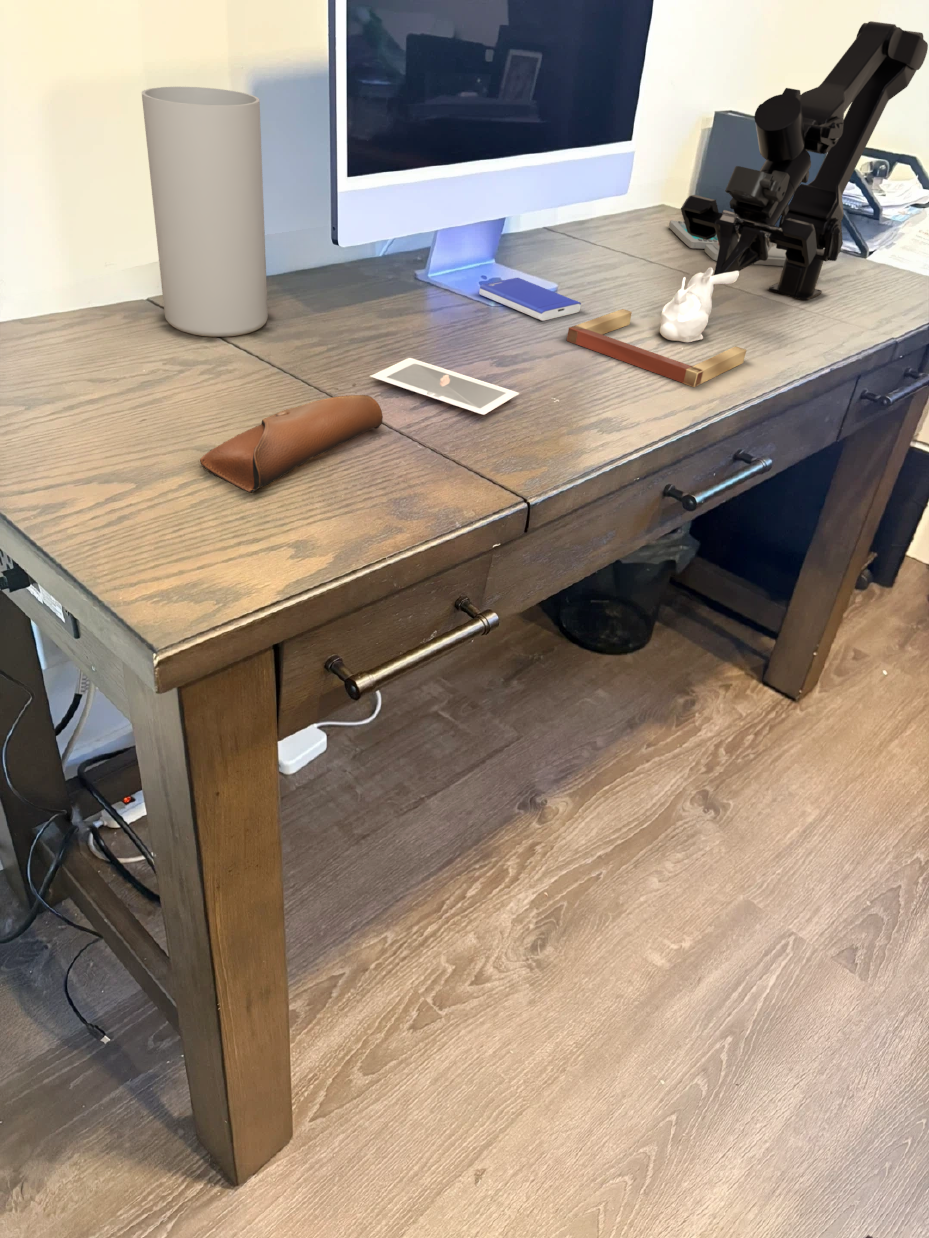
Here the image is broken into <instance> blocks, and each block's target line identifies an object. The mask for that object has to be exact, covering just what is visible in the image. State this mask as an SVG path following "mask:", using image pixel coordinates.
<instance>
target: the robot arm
mask: <svg viewBox="0 0 929 1238" xmlns="http://www.w3.org/2000/svg"><path fill="white" fill-rule="evenodd" d="M928 48H929V44H928V41H926V40H925V38H924V34H923V32H919V31H912V30H906V29H905V30H904V29H902V27H899V26H897V24H895V23H888V22H880V21H871V20H870V21H868V22H863V23H862V24H861V26H860V27H859V29H858V31H857V34H856V37H855V39H854V41H853V42H852V43H851V45H850V46H849V47H848V49H847V50H846V51H845V52H844V53H843V55H842V56H841V58H840V59H839V60H838V62H836V63H835V65H834V67H833V68H832V69H831V70H830V72H829V73H828V74H827V76H826V77H825V78H824V79H823V81H822V82H821V84H819V85H818V86H816V87H814V88H812V89H809V90H806V91H804V92H802V93H801V90H800V89H795V88H790V87H785V89H784V90H783V91H782V93H781V94H777V95H773V96H771V97H769V98H767V99H766V100H765V101H763V102H761V103H759V105H758V106H757V108H756V109H755V112H754V117H753V119H754V124H755V130H756V136H757V143H758V144H757V145H758V149H759V154H760V156H761V157H762V158H763V159H764V160H765V161H764V162H763V164H762V166H761V168H760V169H755V168H749V167H744V166H740V165H735V166H734V168H733V171H732V173H731V176H730V178H729V180H728V183H727V185H726V188H725V190H724V191H725V193H726V194H729V195H730V197H731V199H730V201H729V208H730V209H731V210H733V211H730V210H727V209H726V210H725V209H723V211H722V212H720V211H719V207H718V203H717V199H713V198H709V197H705V196H701V195H697V194H693V195H689V196H688V197H687V198H686V199H685V200H684V202H683V204H682V205H681V207H680V212H681V215H682V218H683V222H685V226H686V229H687V232H688V233H689V234H690V235H691V236H694V237H698V238H702V239H705V240H708V239H711V238H713V237H715V236H716V234H717V238H718V242H719V246H720V247H719V253H718V258H717V261H716V262H715V267H714V271H713V275H718V274H722V273H727V272H733V271H739V272H741V271H742V270H744V269H745V268H747V267H750V266H751V265H754V264H753V263H755V262H757V261H759V260H763V261H766V260H767V259H768V252H769V250H770V249H771V247H773V246H774V245H775V244H777V245H776V248H777V249H783V250H787V251H786V253H785V255H786V259H785V262H784V266H782V270H781V273H780V277H779V280H778V283H776V284H773V285H771V286H769V287H768V291H771V292H774V293H777V294H779V295H780V294H781V295H784V296H788V297H790V298H794V299H797V300H802V301H809V300H811V299H813V298H815V297H817V296H820V295H822V293H823V290H821V289H818V288H816V287H817V284H818V281H819V277H820V274H821V271H822V267H823V266H824V265H823V264H824V262H829V261H831V262H836V261H837V260H838V257H839V254H840V253H841V250H842V247H843V246H844V245H843V244H844V240H843V239H844V238H843V229H842V228H843V227H842V221H843V219H844V203H843V195H844V192H845V190H846V188H847V186H848V184H849V182H850V180H851V178H852V175H853V173H854V171H855V170H856V168H857V165H858V163H859V161H860V160H861V158H862V155H863V153H864V151H865V149H866V147H867V145H868V143H869V141H870V139H871V137H872V135H873V133H874V131H875V129H876V127H877V125H878V123H879V121H880V119H881V118H882V115H883V113H884V110H885V108H886V107H887V104H888V103H889V101H890V100H891V99H893V98H894V97H896V95H898V94H899V93H901V92H902V91H904V90H905V89H907V87H908V86H909V85H910V83H911V81H912V79H913V78H914V76H915V74H916V73H917V71H919V70H920V69H921V68H922V66H923V64H924V62H925V60H926V57H927V54H928ZM845 113H846V114H845ZM809 152H810V153H813V154H814V153H815V154H820V155H825V154H826V155H825V157H824V159H823V161H822V163H821V165H820V168H819V169H818V171H817V173H816V176H815V177H814V178H813V180H812V181H810V182H809V178H810V170H811V167H812V160H811V155H810V153H809ZM808 182H809V183H808ZM807 183H808V184H807ZM778 221H779V223H778ZM777 223H778V226H777ZM739 238H740V239H739ZM738 240H739V242H738Z"/></svg>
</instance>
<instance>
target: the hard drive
mask: <svg viewBox="0 0 929 1238" xmlns="http://www.w3.org/2000/svg"><path fill="white" fill-rule="evenodd" d="M478 291H479V295H480V296H482V297H485V298H487V299H488V300H489V299H490V300H492V301H493V302H497V303H499V304H501V305H504V306H506V307H508V308H510V309H514V310H516V311H518V312H520V313H523V314H524V315H528V316H530V317H532V318H534V319H537V320H540V321H542V322H543V321H548V320H549V321H550V320H553V319H556V318H561V317H566V316H569V315H573V314H577V313H579V312H580V311H581V308H582V307H581V306H582V303H581V302H580V301H578V300H575V299H572V298H570V297H567V296H565V295H563V294H560V293H558V292H555V291H552V290H551V289H548V288H546V287H543V286H540V285H538V284H535V283H533V282H530V281H528V280H525V279H523V278H520V277H512V278H508V279H507V278H506V279H503V280H498V281H493V282H487V283H483V284H481V285H480V286H479V290H478Z"/></svg>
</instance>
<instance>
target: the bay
mask: <svg viewBox="0 0 929 1238" xmlns="http://www.w3.org/2000/svg"><path fill="white" fill-rule="evenodd" d="M632 314H633V312H632V311H630V310H627V309H624V308H622V309H618V310H616V311H612V312H611V313H607V314H604V315H601V316H599V317H596V318H593V319H590V320H587V321H584V322H581V323H578V324H576V325H572V326H570V327H568V330H567V336H566V341H567V342H568V343H571V344H574V345H577V346H579V347H583V348H585V349H588V350H591V351H593V352H596V353H599V354H602V355H605V356H607V357H609V358H613V359H616V360H618V361H621V362H623V363H627V364H630V365H631V366H635V367H638V368H641V369H643V370H645V371H649V372H650V373H654V374H656V375H659V376H662V377H665V378H667V379H671V380H673V381H677V382H679V383H682V384H684V385H687V386H690V387H692V388H696V387H698V386H699V385H701V384H704V383H706V382H707V381H710V380H712V379H714V378H716V377H718V376H720V375H722V374H724V373H726V372H729V371H730V370H732V369H734V368H736V367H738V366H740V365H742V364H744V362H745V358H746V354H747V349H745V348H742V347H740V346H733V347H731V348H729V349H727V350H725V351H723V352H720V353H718V354H716V355H714V356H712V357H709V358H708V359H705V360H702V361H701V362H699V363H697V364H695V365H690V364H687V363H684V362H681V361H679V360H675V359H672V358H669V357H667V356H664V355H662V354H658V353H656V352H653V351H650V350H648V349H644V348H641V347H638V346H637V345H632V344H630V343H628V342H624V341H621V340H618V339H616V338H613V337H610V336H607V335H605V334H608V333H611V332H613V331H616V330H619V329H622V328H624V327H627V326H629V325H631V324H630V323H631V319H632Z"/></svg>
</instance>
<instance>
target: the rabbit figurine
mask: <svg viewBox="0 0 929 1238" xmlns="http://www.w3.org/2000/svg"><path fill="white" fill-rule="evenodd" d="M739 275H740V271H733V272H727V273H722V274H718V275H714V268H713V267H708V268H707V269H706V270H705V272H696V274H694V275H692V277H691V278H690V280H689V281H688V282H687V285H686V280H687V277H686V276H684V277H683V278H682V281H681V287H680V289H678V290H677V291H676V292H675V295H674V296H673V298H672V299H671V300H670V301H668V302H666V303H665V304H664V306H663V307H662V309H661V310H662V311H661V312H660V313H661V314H660V323H659V324H660V327H659V333H660V335H661V337H663V338H664V339H666V340H668V341H673V342H675V341H677V342H683V343H691V342H695V341H699V340H703V339H704V336H703V334H702V333H703V332H704V330H705V329H706V327H707V325H708V323H709V318H710V315H711V313H712V309H713V300H712V295H713V293H714V291H715V290H714V289H715V285H731V284H733V283H735V282H736V281H737V280H738V278H739ZM685 285H686V288H685Z"/></svg>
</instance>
